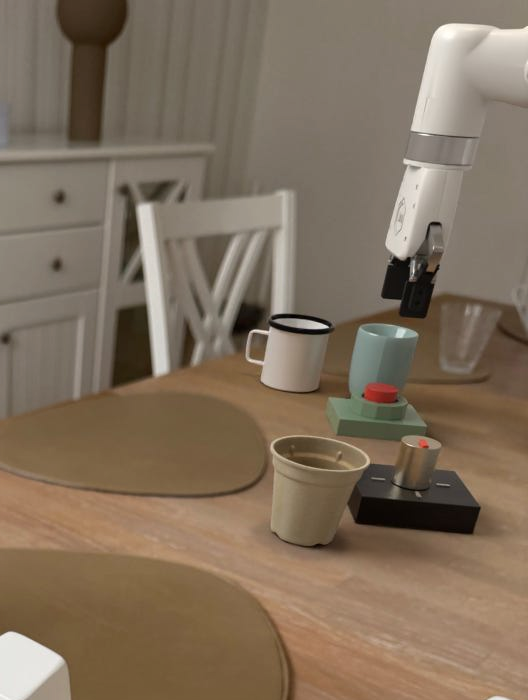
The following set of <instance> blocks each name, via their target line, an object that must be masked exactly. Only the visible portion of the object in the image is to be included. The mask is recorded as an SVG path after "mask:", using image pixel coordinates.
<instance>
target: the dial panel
mask: <svg viewBox="0 0 528 700" xmlns="http://www.w3.org/2000/svg"><path fill="white" fill-rule="evenodd" d="M394 466H395V465H392V464H379V463H371V462H370V465H369V467H368V468H367V469H365V470H364V471H363V473H362V476H361V478H360V479H359V480H358V481H357V482H356V484H355V486H354V489H353V491H352V493H351V496H350V498H349V500H348V503H347V506H348V509H349V511H350V513H351V516H352V518H353V520H354V523H355V524H364V525H374V526H375V525H376V526H385V527H396V528H406V529H408V528H409V529H418V530H427V531H440V532H451V533H461V534H470V535H471V534H472V535H473V534H474V530H475V527H476V525H477V522H478V519H479V515H480V512H481V509H482V506H481V505H480V504H479V502H478V501H477V500H476V498H475V497H474V495H473V494H472V493H471V491H470V489H469V488H468V487H467V486H466V484H465V483H464V481H462V479H461V478H460V476H459V475H458V473H457V472H456V471H455V470H448V469H447V470H446V469H437V468H435V471H434V474H433V478H432V481H431V485H430V487H429V488H428V489H424V490H414V489H408V488H404V487H401V486H398V485H396V484H395V483H393V482H392V480H391V477H392V473H393V469H394Z"/></svg>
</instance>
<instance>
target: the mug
mask: <svg viewBox="0 0 528 700" xmlns="http://www.w3.org/2000/svg"><path fill="white" fill-rule="evenodd" d="M266 324H267V325H268V326H269V330H264V329H252V330H250V331H249V333H248V336H247V341H246V347H245V359H246V361H247V362H248V363H251V364H254V365H257V366H261V368H262V370H261V373H260V382H261V383H263V385H264V386H266V387H268V388H270V389H273V390H275V391H280V392H287V393H295V394H303V393H311V392H313V391H316V390H318V388H319V386H320V382H321V378H322V377H321V376H322V372H323V368H324V362H325V357H326V352H327V348H328V343H329V338H330V334H333V332H335V328H336V325H335V323H334V322H332V321H331V320H329V319H326V318H324V317H319V316H315V315H310V314H305V313H304V314H303V313H293V312H292V313H291V312H286V313H285V312H283V313H282V312H281V313H274V314H271V315H269V316H268V317H267V320H266ZM253 334H259V335H265V336H267V341H266V346H265V353H264V358H263V360H258V359H253V358H251V357H250V352H251V343H252V339H253Z"/></svg>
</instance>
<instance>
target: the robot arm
mask: <svg viewBox="0 0 528 700" xmlns="http://www.w3.org/2000/svg"><path fill="white" fill-rule="evenodd" d="M421 78H422V79H421V82H420V87H419V91H418V96H417V101H416V104H415V109H414V113H413V118H412V123H411V127H410V131H409V135H408V140H407V145H406V148H405V152H404V158H403V161H402V164H404V165H407V167H406V169H405V171H404V175H403V178H402V181H401V183H400V186H399V191H398V194H397V197H396V201H395V205H394V208H393V212H392V215H391V218H390V219H391V220H390V223H389V227H388V230H387V233H386V238H385V243H384V244H385V247H386V249H387V251H388V252H389V253H390V255H389V258H388V264H387V268H386V270H385V271H386V272H385V274H384V279H383V284H382V287H381V293H380V297H381V298H382V299H383V300H395V301H400V304H399V309H398V312H397V313H398V316H399V317H401V318H410V319H419V320H421V319H423V320H424V319H426V318H427V316H428V312H429V310H430V309H429V308H430V304H431V302H432V296H433V293H434V289H435V285H436V283H437V279H438V272H439V270H440V267H441V264H440V262H441V261H443V259H444V258H445V257H444V256H445V254H446V251H447V248H448V245H449V241H450V237H451V233H452V229H453V225H454V222H455V217H456V212H457V207H458V203H459V198H460V193H461V187H462V183H463V177H464V172H467V171H472V169H473V166H474V165H473V164H474V163H475V158H476V155H477V151H478V147H479V143H480V139H481V135H482V132H483V127H484V125H485V120H486V117H487V112H488V109H489V105H490V102H491V101H493V102H498V103H503V104H508V105H511V106H516V107H519V108H522V109H528V25H527V26H525V27H523V28H499V27H497V26H494V25H489V24H475V23H445V24H443V25H441V26H439V27H438V28H437V29H436V30H435V32H434V33H433V35H432V38H431V41H430V44H429V48H428V52H427V57H426V61H425V65H424V70H423V75H422V77H421ZM419 265H420V266H419Z"/></svg>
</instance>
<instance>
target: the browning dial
mask: <svg viewBox="0 0 528 700" xmlns="http://www.w3.org/2000/svg"><path fill="white" fill-rule="evenodd" d="M398 447H399V448H398V451H397V455H396V457H395V461H394V462H395V463H394V465H393V466H394V469H393V473H392V477H391V480H392V482H393V483H395V484H396V485H398V486H401V487H404V488H408V489H414V490H424V489H428V488H429V487H430V485H431V481H432V478H433V474H434V471H435V469H436V467H437V463H438V460H439V457H440V453H441V449H442V443H441V442H440V441H438V440H436V439H434V438H431V437H428V436H425V437H424V436H416V435H409V436H404V437H403V438H402V439H401V441H400V444H399V446H398Z"/></svg>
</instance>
